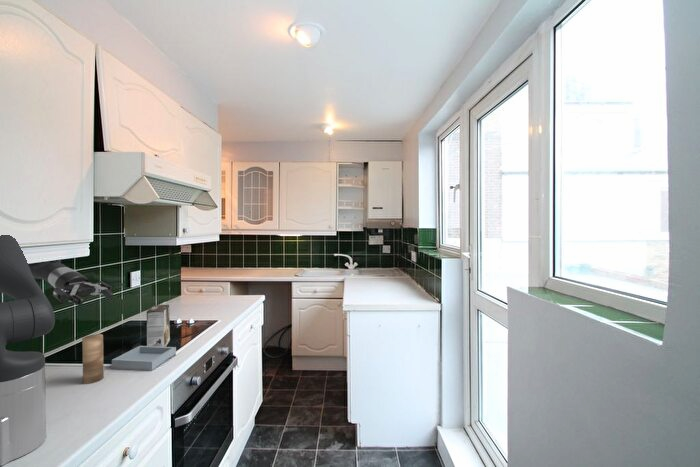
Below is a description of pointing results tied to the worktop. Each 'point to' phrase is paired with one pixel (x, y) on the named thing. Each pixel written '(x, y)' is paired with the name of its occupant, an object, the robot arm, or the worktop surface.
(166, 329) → the coffee box
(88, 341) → the walnut dowel
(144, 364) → the tray
